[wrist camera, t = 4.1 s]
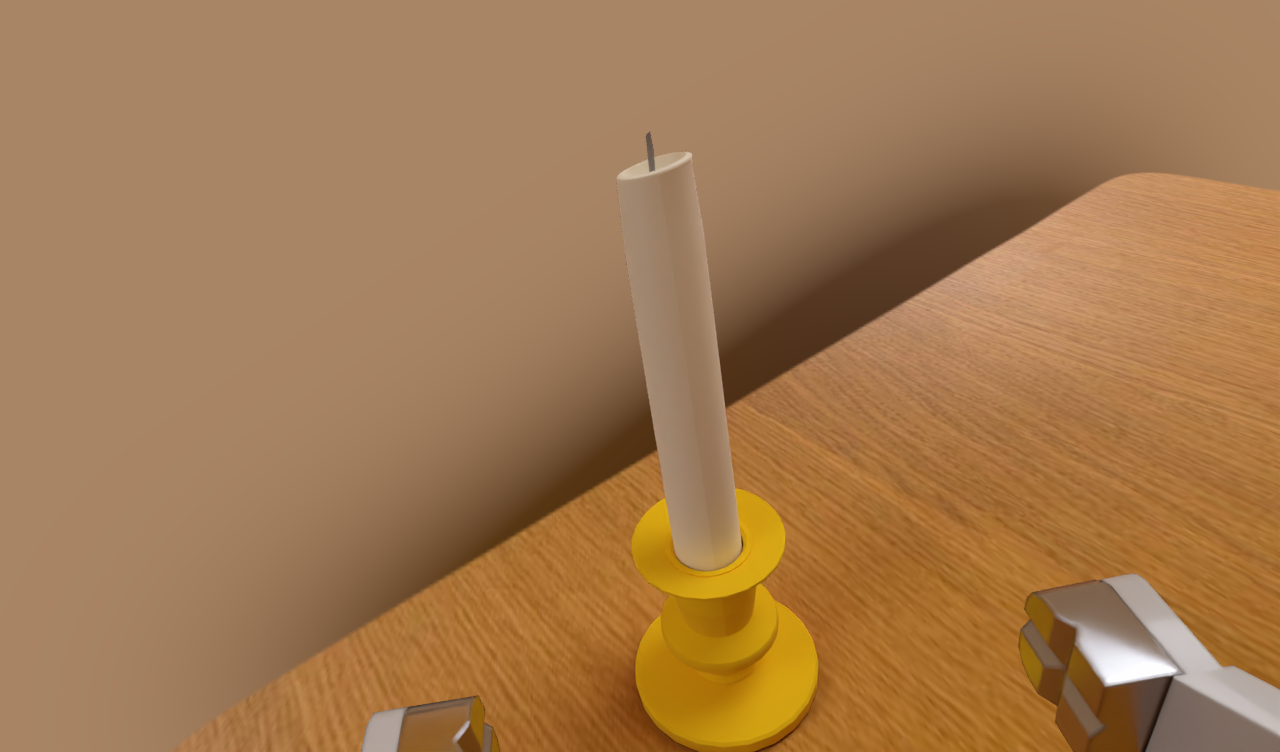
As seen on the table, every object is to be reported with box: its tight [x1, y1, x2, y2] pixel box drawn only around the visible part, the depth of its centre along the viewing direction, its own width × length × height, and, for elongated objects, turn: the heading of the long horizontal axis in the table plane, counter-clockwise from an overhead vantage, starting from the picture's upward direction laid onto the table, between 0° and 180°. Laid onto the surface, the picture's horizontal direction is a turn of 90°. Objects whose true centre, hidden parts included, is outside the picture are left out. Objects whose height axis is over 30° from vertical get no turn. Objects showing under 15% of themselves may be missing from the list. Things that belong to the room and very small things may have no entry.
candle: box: [616, 132, 819, 752], centre depth 18 cm, size 5×5×16 cm
